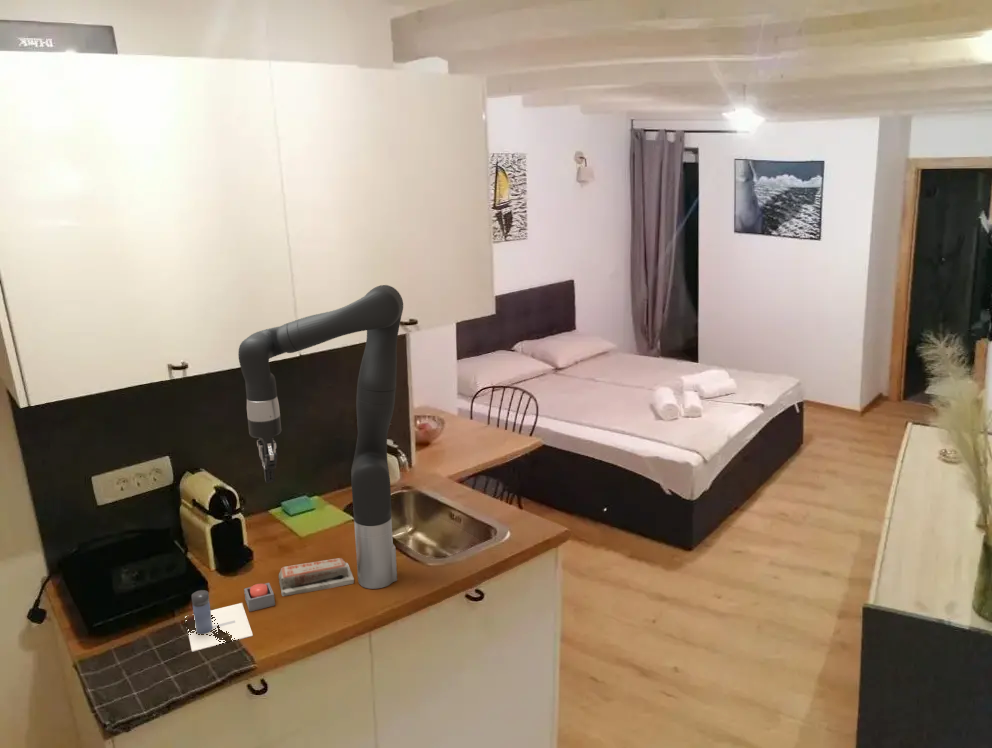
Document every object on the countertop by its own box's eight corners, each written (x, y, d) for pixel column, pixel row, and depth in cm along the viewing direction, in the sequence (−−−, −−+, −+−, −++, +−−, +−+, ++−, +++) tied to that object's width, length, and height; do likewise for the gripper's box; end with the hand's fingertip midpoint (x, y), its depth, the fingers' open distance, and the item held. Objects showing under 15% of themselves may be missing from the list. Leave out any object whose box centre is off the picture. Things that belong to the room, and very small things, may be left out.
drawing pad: (242, 603, 190) (241, 602, 190) (252, 635, 177) (252, 635, 177) (185, 617, 185) (184, 616, 185) (192, 652, 172) (191, 651, 172)
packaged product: (280, 581, 192) (276, 562, 201) (281, 598, 193) (278, 579, 202) (353, 568, 198) (347, 550, 207) (355, 585, 199) (348, 566, 208)
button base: (270, 593, 195) (269, 582, 194) (275, 605, 190) (273, 594, 189) (245, 599, 192) (244, 588, 191) (249, 611, 187) (248, 600, 186)
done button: (266, 593, 193) (265, 582, 192) (269, 601, 190) (268, 589, 189) (249, 597, 192) (248, 586, 191) (252, 605, 188) (251, 593, 187)
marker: (211, 623, 182) (207, 588, 180) (213, 631, 179) (209, 596, 177) (195, 627, 181) (190, 592, 178) (196, 635, 178) (192, 600, 175)
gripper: (285, 420, 185) (291, 488, 190) (274, 405, 197) (280, 469, 201) (252, 425, 182) (259, 494, 187) (243, 410, 194) (249, 475, 198)
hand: (270, 481), depth 194 cm, fingers closed
